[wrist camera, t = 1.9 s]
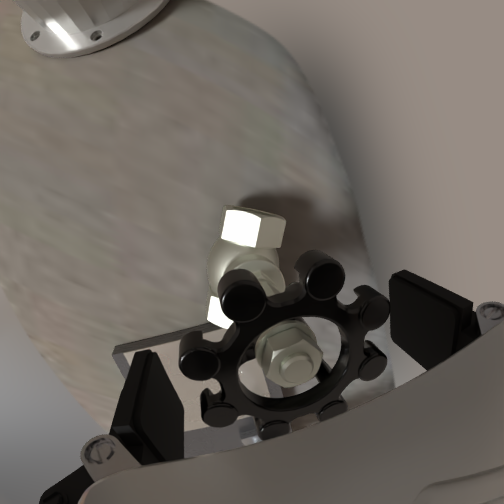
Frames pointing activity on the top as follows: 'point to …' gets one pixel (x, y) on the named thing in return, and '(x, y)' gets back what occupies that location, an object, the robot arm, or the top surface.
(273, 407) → the valve
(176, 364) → the press
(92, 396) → the top surface
